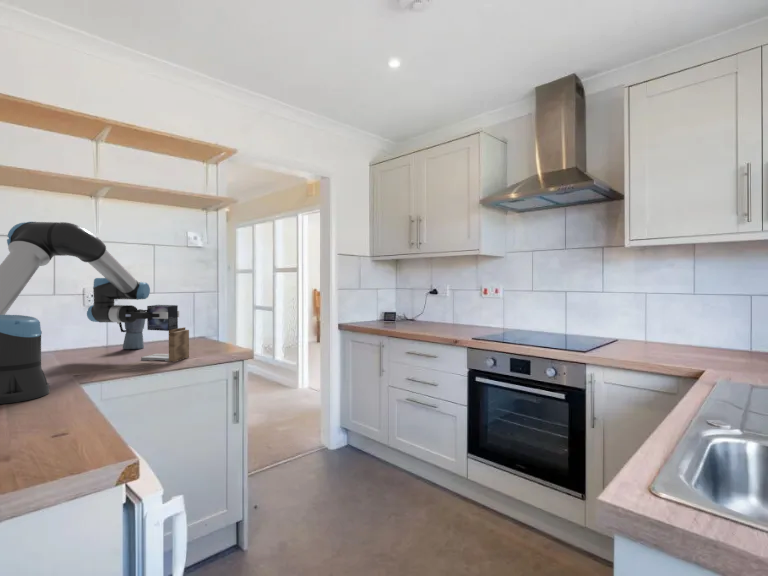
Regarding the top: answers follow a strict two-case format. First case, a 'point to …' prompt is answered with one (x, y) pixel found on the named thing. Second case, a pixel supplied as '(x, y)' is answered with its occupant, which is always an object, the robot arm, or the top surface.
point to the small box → (163, 323)
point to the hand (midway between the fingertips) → (173, 314)
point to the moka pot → (133, 334)
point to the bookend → (174, 346)
